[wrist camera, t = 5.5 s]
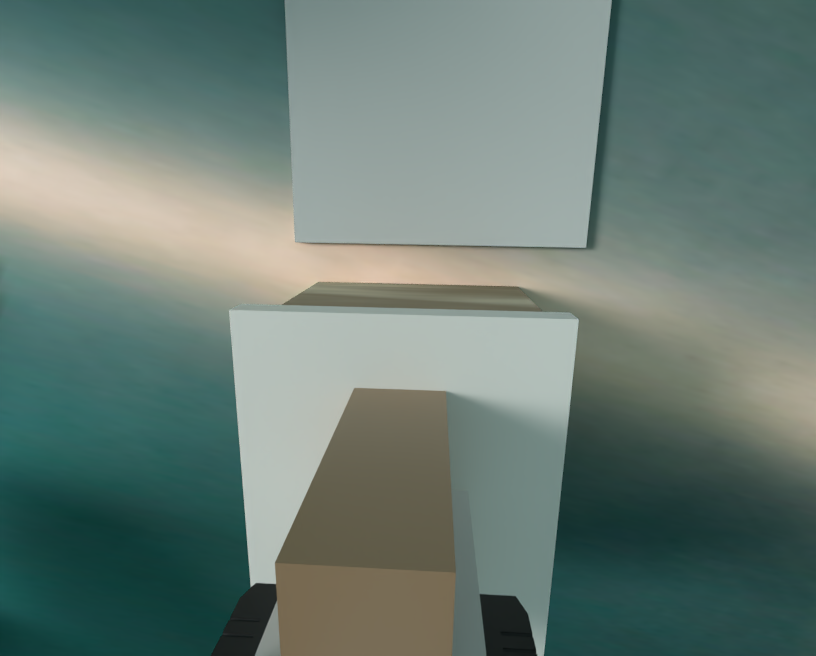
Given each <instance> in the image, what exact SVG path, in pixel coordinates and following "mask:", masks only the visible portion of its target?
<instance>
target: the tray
mask: <svg viewBox="0 0 816 656" xmlns="http://www.w3.org/2000/svg"><path fill="white" fill-rule="evenodd" d="M611 3H612V0H285V21H286V44H287V67H288V91H289V114H290V137H291V160H292V183H293V207H294V230H295V242H309V243H362V244H415V245H468V246H521V247H574V248H586V243H587V233H588V224H589V214H590V205H591V195H592V185H593V176H594V166H595V157H596V147H597V137H598V128H599V118H600V109H601V99H602V89H603V80H604V70H605V61H606V51H607V41H608V32H609V22H610V13H611Z"/></svg>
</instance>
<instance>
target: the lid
mask: <svg viewBox="0 0 816 656" xmlns="http://www.w3.org/2000/svg"><path fill="white" fill-rule="evenodd" d="M229 315H230V328H231V341H232V353H233V366H234V379H235V392H236V405H237V417H238V430H239V443H240V456H241V469H242V481H243V494H244V507H245V520H246V533H247V545H248V558H249V571H250V584H251V587H252V586H253V585H254V584H255V583H267V584H276V590H277V606H278V622H279V638H280V654H281V656H452V645H453V624H454V602H455V581H456V566H455V548H454V529H453V511H452V493H451V490H459V491H468V496H469V505H470V514H471V523H472V532H473V541H474V549H475V558H476V567H477V576H478V585H479V594H489V595H507V596H516V597H517V599H518V600H519V601H520V603H521V604H522V606H523V607H524V609H525V610H526V612H527V613H528V616H529V621H530V625H531V629H532V636H533V638H534V643H535V647H536V654H537V656H544V648H545V639H546V629H547V619H548V610H549V600H550V591H551V581H552V572H553V562H554V553H555V543H556V533H557V524H558V514H559V505H560V495H561V486H562V476H563V467H564V457H565V448H566V438H567V428H568V419H569V409H570V400H571V390H572V381H573V371H574V362H575V352H576V342H577V333H578V323H579V319H578V318H577V317H575V316H574V315H573V314H571V313H570V312H531V311H493V310H455V309H416V308H378V307H339V306H301V305H263V304H240V305H238V306H236V307H234V308H232V309H230V310H229Z"/></svg>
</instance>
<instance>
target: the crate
mask: <svg viewBox="0 0 816 656" xmlns="http://www.w3.org/2000/svg"><path fill="white" fill-rule="evenodd" d="M282 305H301V306H339V307H378V308H416V309H455V310H493V311H531V312H543V311H542V310H541V309H540V308H539V307H538V306H537V305H536V304H535V303H534V302H533V301H532V300H531V299H530V298H529V297H528V296H527V295H526V294H525V293H524V292H523V291H522V290H521V289H520V288H519V287H510V286H467V285H425V284H382V283H340V282H318V283H316V284H314V285H313V286H311V287H310V288H308V289H306V290H305V291H303V292H302V293H300V294H298V295H297V296H295V297H294V298H292V299H290V300H289V301H287V302H286V303H284V304H282Z"/></svg>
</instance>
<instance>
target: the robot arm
mask: <svg viewBox="0 0 816 656" xmlns="http://www.w3.org/2000/svg"><path fill="white" fill-rule="evenodd" d="M451 493H452V511H453V529H454V548H455V566H456V581H455V602H454V624H453V645H452V656H537V654H536V647H535V643H534V638H533V636H532V629H531V625H530V621H529V616H528V613H527V612H526V610H525V609H524V607H523V606H522V604H521V603H520V601H519V600H518V599H517V597H516V596H507V595H489V594H479V585H478V576H477V567H476V558H475V549H474V541H473V532H472V523H471V514H470V505H469V496H468V491H459V490H451ZM211 656H281V654H280V638H279V622H278V606H277V590H276V584H267V583H255V584H254V585H253V586H252V587H251V588H250V589H249V590H248V591H247V592H246V593H245V594H244V595H243V596H242V597H241V598H240V599H239V601H238V603H237V605H236V607H235V609H234V611H233V613H232V615H231V618H230V621H228V623H227V625H226V627H225V629H224V631H223V635H222V636H221V637H220V639H219V641H218V643H217V645H216V647H215V649H214V651H213V653H212V655H211Z"/></svg>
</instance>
